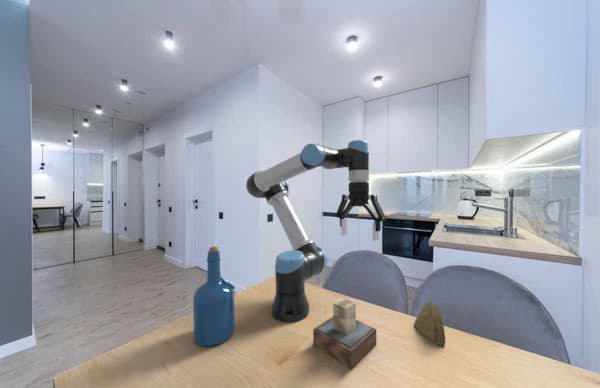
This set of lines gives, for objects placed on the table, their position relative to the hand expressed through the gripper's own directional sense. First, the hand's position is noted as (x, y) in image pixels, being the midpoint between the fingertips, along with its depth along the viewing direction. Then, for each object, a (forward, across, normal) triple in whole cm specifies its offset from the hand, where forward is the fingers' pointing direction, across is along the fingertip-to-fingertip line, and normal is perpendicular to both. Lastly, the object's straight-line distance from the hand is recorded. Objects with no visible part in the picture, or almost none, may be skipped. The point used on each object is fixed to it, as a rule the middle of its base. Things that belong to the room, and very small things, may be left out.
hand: (359, 237), depth 86 cm
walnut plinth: (+31, +5, -17) cm, 35 cm away
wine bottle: (+31, -29, -44) cm, 61 cm away
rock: (+31, +22, +7) cm, 39 cm away
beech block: (+25, +5, -17) cm, 31 cm away
